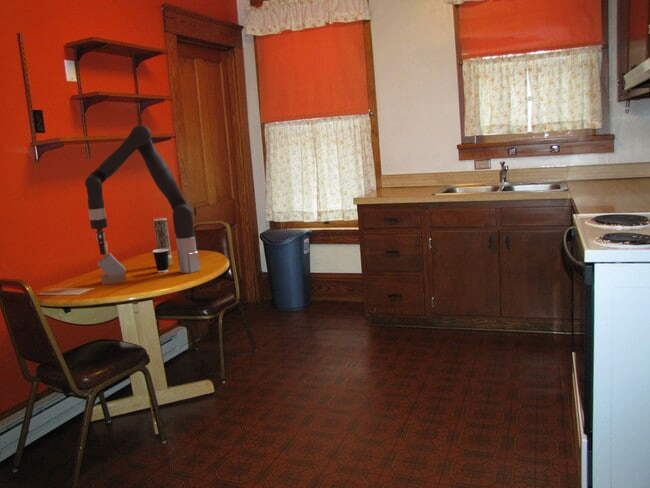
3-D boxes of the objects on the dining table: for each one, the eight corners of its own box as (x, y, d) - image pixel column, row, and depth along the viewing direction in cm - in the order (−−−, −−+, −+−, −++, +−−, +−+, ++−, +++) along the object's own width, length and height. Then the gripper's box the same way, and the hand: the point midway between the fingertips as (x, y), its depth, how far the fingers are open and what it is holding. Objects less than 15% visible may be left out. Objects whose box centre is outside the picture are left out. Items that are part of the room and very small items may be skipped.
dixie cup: (173, 271, 311) (170, 249, 310) (158, 274, 307) (155, 252, 305) (168, 269, 318) (165, 248, 316) (152, 271, 314) (150, 250, 312)
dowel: (111, 266, 296) (108, 241, 294) (105, 267, 294) (102, 242, 292) (107, 265, 298) (104, 241, 296) (101, 267, 295) (98, 242, 293)
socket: (126, 277, 304) (122, 250, 301) (127, 281, 295) (123, 253, 293) (100, 281, 300) (96, 253, 298) (100, 285, 292) (96, 256, 289)
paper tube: (174, 263, 331) (168, 217, 326) (169, 266, 324) (164, 219, 320) (162, 264, 332) (156, 218, 327) (157, 267, 325) (151, 220, 321)
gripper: (89, 217, 297) (94, 252, 300) (89, 220, 283) (94, 257, 286) (106, 215, 299) (111, 250, 302) (106, 218, 286) (111, 255, 289)
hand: (102, 253), depth 294 cm, fingers open, 4 cm apart
